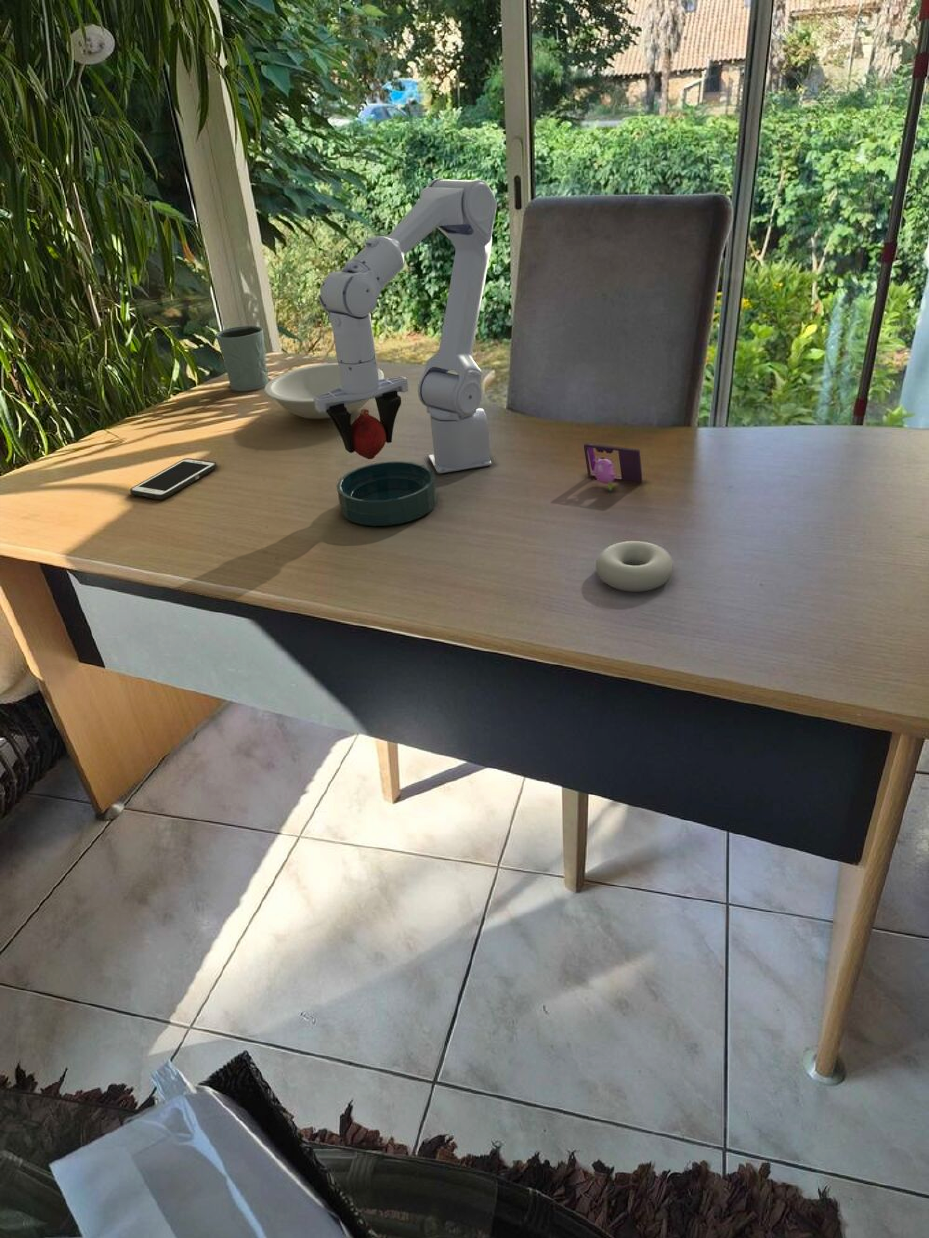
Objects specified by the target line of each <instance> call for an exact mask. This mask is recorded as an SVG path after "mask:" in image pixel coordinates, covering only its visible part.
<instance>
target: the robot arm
mask: <svg viewBox="0 0 929 1238" xmlns="http://www.w3.org/2000/svg"><path fill="white" fill-rule="evenodd" d="M497 207H498V201H497V199H496V197H495V194H494V192H493V190H492V189H491V186H490V185H489V183H488V182H487V181H485V180H483V179H474V180H466V179H465V180H464V179H463V180H462V179H461V180H460V179H445V178H441V177H439V178H435V179H432V180H431V181H430V182H429V183H428V185H427V186H426V187H424V188H423V189H421V190H420V192H419V199H418V200H417V202H416V203H415V204H414V205H413V206H412V207H411V209H410V210H409V211H408V212H407V213H406V214H405V216H404V217H403V218H402V219H401V220H400V221H399V222H398V224H397V225H396V226H395V227H394V228H393V229H392V230H391V232H390V233H389V234H388V235H387V236H385V235H384V236H383V235H377V236H373V237H372V236H370V237H368V238H367V239H366V240H365V241H364V244H365V246H364V247H363V248H362V249H361V250H360V251H359V252H357V254H356V255H355V256H354V257H353V258H352V259H348V260H347V261H346V262H345V263H344V267H343V268H342V270H341V271H339V270H337V271H332V272H330V273H329V274H328V275H326V277H325V278H324V280H323V281H322V283H321V286H320V294H319V295H318V296H317V297H318V301H319V304H320V306H321V308H322V309H323V310H324V311H325V312H326V313H327V317H328V323H329V324H331V328H332V335H333V341H334V348H335V354H336V355H335V356H336V359H337V360H336V361H337V363H338V368H339V374H340V380H341V387H340V388H337V389H335V390H332V391H330V392H327V393H324V394H322V395H318V396H314V397H313V398H314V404H315V409H316V410H317V411H319V412H320V413H321V412H325V411H326V412H327V414H328V415H329V416H330V418H329V419H330V420H331V421H332V423H333V425H334V426H335V428H336V430H337V432H338V433H339V434H340V437H341V441H342V443H343V445H344V449H345V451H346V452H348V453H349V454H353V453H355V451H354V443H353V438H352V431H351V424H352V412H351V413H349V412H348V411H347V408H345V406H344V405H347V404H351V403H355V402H359V401H364V400H368V399H369V400H371V399H374V400H375V402H376V403H375V404H376V407H377V411H378V416H379V421H380V422H381V423H382V425H383V427H384V429H385V433H386V444H391V443H392V442H393V432H394V426H395V421H396V418H397V414H398V412H399V409H400V407H401V405H402V397H401V396H400V395H399V394H398V393H407V392H409V384H408V378H406V377H404V376H402V375H400V376H395V377H388V378H384V379H379V375H378V369H379V368H378V361H377V354H376V346H375V339H374V330H373V323H372V316H371V315H372V314H371V313H373V312H374V311H375V309H376V307H377V303H378V299H379V296H380V294H381V293H382V290H383V289H384V288H385V287H386V286H387V285H389V283H390V282H391V281H392V280H393V279H394V278H395V277H396V276H397V275H398V274H399V273H400V272H401V271H402V270H403V268H404V265H405V256H406V255H407V254H408V253H409V252H410V251H411V250H412V249H413V248H414V247H416V246H417V245H418V244H419V243H420V242H421V241H423V240H424V239H425V238H426V237H427V236H428V235H429V234H431V233H432V232H433V231H434V230H435V229H438V230H439V231H440V232H441V233H442V234H443V235H444V236H445V237H447V239H448V240H450V242H451V244H452V245H453V247H454V250H455V251H454V253H455V254H454V258H453V265H452V269H451V278H450V283H449V288H448V295H447V300H446V306H445V312H444V316H443V318H444V319H443V323H442V330H441V335H440V342H439V348H438V351H437V352H436V353H434V354H433V355H432V356H431V357H430V358H428V359H427V360H426V363H425V368H424V371H423V374H422V375H421V376H420V379H419V381H418V386H417V395H418V399H419V401H420V402H421V404H422V405H423V406H425V407H426V413H427V414H429V416H430V426H431V427H430V428H431V437H432V448H433V453H432V454H429V455H428V459H429V461H430V462H431V465H433V467H434V469H435V471H436V473H437V474H446V473H452V472H457V471H465V470H469V469H475V468H481V467H488V466H491V465H492V460H491V450H490V449H491V447H490V432H489V424H488V417H487V414H486V412H485V410H484V408H481V407H480V408H479V406H480V404H481V401H482V393H483V391H482V390H483V389H482V375H483V372H482V370H481V368H480V367H479V365H478V364H477V363H476V362H475V360H474V359H473V351H474V345H475V339H476V335H477V329H478V323H479V317H480V313H481V305H482V301H483V295H484V290H485V284H486V279H487V274H488V273H487V272H488V267H489V262H490V255H491V250H492V244H493V236H492V235H493V230H494V224H495V219H496V213H497ZM450 371H451V372H455V373H456V374H455V373H450ZM369 400H368V401H369Z"/></svg>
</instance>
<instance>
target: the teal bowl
mask: <svg viewBox="0 0 929 1238" xmlns="http://www.w3.org/2000/svg"><path fill="white" fill-rule="evenodd" d="M336 492H337V497H338V504H339V509H340V512H341V515H342V516H343V517H344V518H346V520H348V521H350V522H353V523H356V524H359V525H363V526H372V527H373V526H374V527H377V526H378V527H381V526H394V525H399V524H404V523H407V522H411V521H414V520H417V519H419V518H421V517H423V516H425V515H426V514H428V513H430V512H431V511H432V510H433V509H434V507H436V504H437V502H438V501H437V500H438V495H437V485H436V475H435V473H434V471H433V470H432V469H431V468H429V467H427V466H426V465H424V464H420V463H417V462H413V461H403V460H397V461H396V460H395V461H394V460H393V461H381V462H375V463H370V464H366V465H363V466H360V467H357V468H355V469H353V470H351V471H349V472H347V473H345V474H344V475H342V477H341V478H339V479H338V482H337V484H336Z"/></svg>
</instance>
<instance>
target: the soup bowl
mask: <svg viewBox="0 0 929 1238" xmlns="http://www.w3.org/2000/svg"><path fill="white" fill-rule="evenodd" d="M378 375H379V379H385V374H384V371H382V370H381V369H380V368H378ZM340 387H341V380H340V374H339V368H338V362H333V363H321V364H314V365H309V366H304V367H300V368H295V369H292V370H289V371H287V372H284V373H282V374H279V375H277V376H275V377H273V378H272V379H270V380H269V382H268V383H267V384H266V386H265V387H264V390H263V391H264V393H265V395H266V396H267V397H268V398H270V399H272V400H274V401H276V402H277V403H278V404H279V405H280V406H281V408H283V409H284V410H286V411H287V412H289V413H290V414H293V415H295V416H297V417H302V418H306V419H314V420H321V419H331V418H330V416H329V415H328V414H327V412H326V411H325V412H321V413H320V412H319V411H317V410H316V409H315V404H314V398H313V397H314V396H318V395H322V394H324V393H327V392H330V391H332V390H335V389H337V388H340ZM369 400H370V399H368V400H364V401H359V402H355V403H351V404H347V405H344V406H345V408H347V411H348V412H349V413H351V414H352V413H353V412H355V411H358V410H359V409H360V408H362V407H363V406H364V405H366V404H367V402H368V401H369Z"/></svg>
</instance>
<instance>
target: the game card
mask: <svg viewBox="0 0 929 1238" xmlns="http://www.w3.org/2000/svg"><path fill="white" fill-rule="evenodd" d="M583 451H584V457H585V463H586V471H587V476H588V477H590V478H596V479H597V481H598V482H600V483H602V484H604V485H607V486H608V489H609V491H613V482H614V481H621V482H627V483H628V482H629V483H635V484H642V483H643V473H642V472H643V471H642V461H641V450H640V449H638V448H627V447H622V446H613V445H610V446H609V445H602V444H593V443H587V442H586V443H584V444H583ZM595 451H597V452H598V453H601V454H603V453H604V452H605V453H606V454H613V452H614V451H618V460H619V468H620V477H618V476H615V470H614V469H616V467H615V466H614V465H613V462H612V461H611V460H610V459H607V458H606V457H600V458H599V457H596V456H595ZM591 471H593V473H591Z"/></svg>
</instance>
